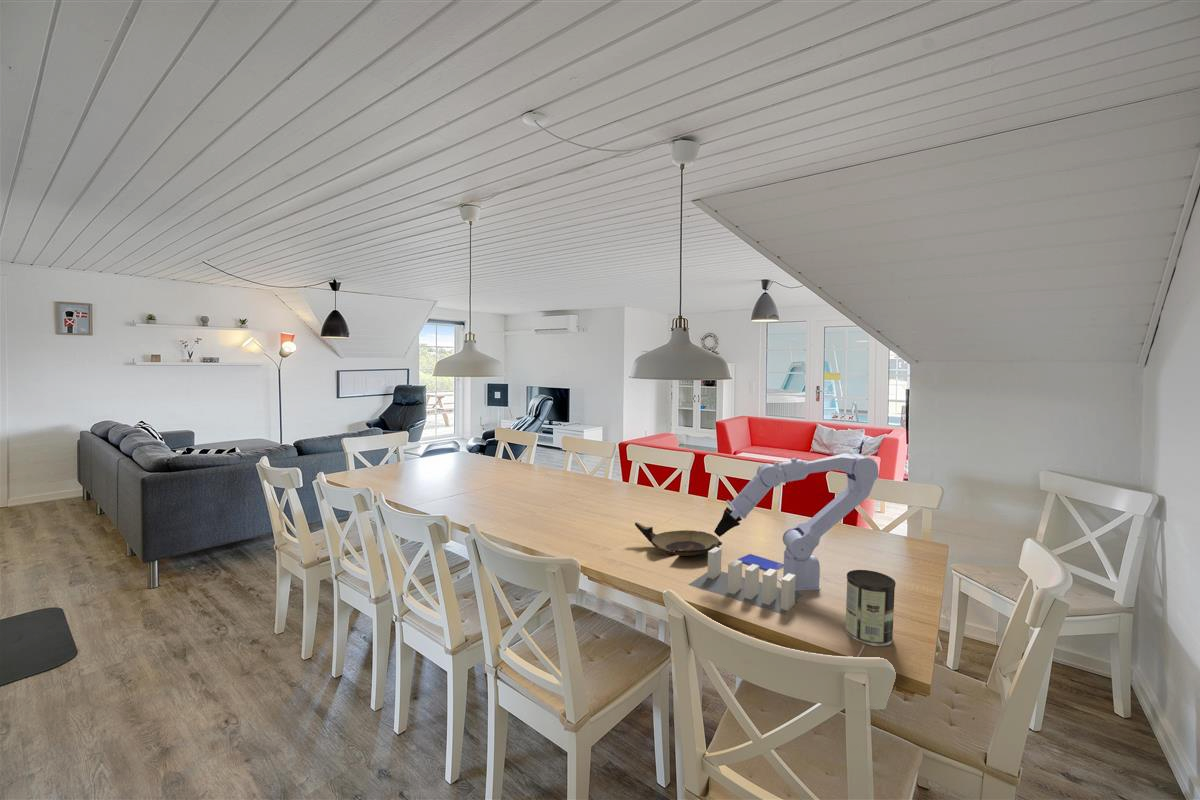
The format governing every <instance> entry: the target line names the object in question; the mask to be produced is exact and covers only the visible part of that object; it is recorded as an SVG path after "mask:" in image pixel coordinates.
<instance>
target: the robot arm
mask: <svg viewBox="0 0 1200 800" xmlns="http://www.w3.org/2000/svg"><path fill="white" fill-rule="evenodd" d="M773 463H774V464H771V463H764V464H761V466H760V465H759V466H758V467H757V470H756V474H755V475H754V476H753V478H751V479H750V480H749V481H748V483H747V484H746V485H745V486H743V488H742V490H741V491H739V493H738V494H737V495H736V496H735V497H734V498H733V499H732V500H731V501H730V500H729V499H727V500H726V502H725V503H726V504H728V506H729V507H728V506H726V508H725V509H724V511H723V515H722V517H721V519H720V520H719V523H717V526H716V527H715V529H714V531H713V532H714V533H715V534H716V536H718V538H720V537H722V536H723V535H725V534H726V533H727V532H728V531H730V530H731V529H733V528H735V527H738V526H740V525H741V523H740V522H741V521H742V520H743V519H744V520H745V519H746V518H747V517H748V515H749V514H750V513H751V512H752V510H753V509H754V508H755V507H756V506H757V505H758V503H760V502H761V500H762V499H764V497H765V496H766V495H767V493H769V491H770V490H771V489H772V488H773V487H774V488H776V487H779V486H780V485H781V484H784V483H790V482H794V481H799V480H800V481H801V480H805V479H806V478H807V476H808V475H809V474H815V473H823V472H830V471H841V472H844V473H845V474H846V476H847V478H846V479H847V487H846V488H845V489H844V490H843V491H842V492H841V493H839V494H838V495H837V496H836V497H834V499H832V500H831V501H830V502H828V503H827V504H826V505H825V506H824V507H823V508H822V509H820V510H819V511H818V512H817V513H816V514H814V515H813V517H811V518H809V519H808V521H806V522H804V523H803V522H802V523H798V524H797V526H795V527H791V528H789V529H787V530H785V531H784V533H783V534H782V542H783V544H784V545H785V549H784V552H783V564H784V567H783V570H782V571H783V572H782V573H783V576H782V577H777V581H778V582H779V583H781V579H782V578H783V577H784V576H786V575H787V574H788V573H790V574H793V575H796V580H795V591H813V590H814V591H816V590H821V589H822V588H821V587H820V579H821V578H820V576H821V574H820V573H821V572H820V571H821V570H820V569H821V566H820V562H819V559H818V557H817V556H816V555H814V554H813V553H814V550H815V549H816V547H818V546H819V545H820V540H821V538H822V537H823V535H824V534H826V533H827V532H828V531H830V530H831V529H832V528H833V527H834V526H836V525H837V524H838V523H839V522H840V521H841V520H843V519H844V518H845V517H846V516H847V515H848V514H850V513H851V511H853V510H854V509H855V508H856V507H858V506H859V505H860V504H862V503H863V502H864V501H865V500H866V499H868V497H869V496H870V494H871V492H872V489H873V486H874V484H875V481H876V480H877V479H878V478H879V477H880V473H879V465H878V464H877V462H876V461H875V460H874V459H873V458H870V457H867V456H864V455H863V454H861V453H859V452H849V453H847V452H846V453H840V454H837V455H831V456H827V457H823V458H819V459H814V460H810V461H804V460H802V459H800V458H799V459H797V458H796V457H793V458H792V457H791V458H790V460H788V461H782V462H779V461H774V462H773Z"/></svg>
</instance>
